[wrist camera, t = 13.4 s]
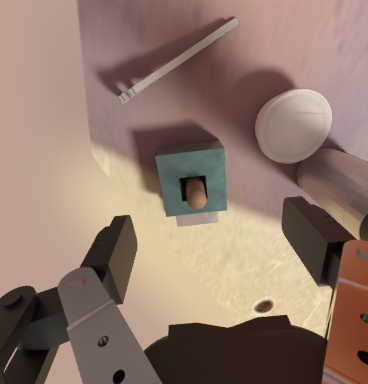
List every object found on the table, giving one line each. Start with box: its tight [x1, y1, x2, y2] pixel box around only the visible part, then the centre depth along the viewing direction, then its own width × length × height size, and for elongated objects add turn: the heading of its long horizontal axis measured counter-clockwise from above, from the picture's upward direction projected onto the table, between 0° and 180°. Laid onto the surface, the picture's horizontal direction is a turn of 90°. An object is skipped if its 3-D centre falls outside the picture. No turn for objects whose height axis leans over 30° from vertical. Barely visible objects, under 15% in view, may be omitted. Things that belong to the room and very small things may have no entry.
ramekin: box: [255, 88, 332, 163], centre depth 37 cm, size 11×11×5 cm
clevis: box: [155, 140, 227, 227], centre depth 41 cm, size 11×16×6 cm
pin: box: [186, 176, 207, 209], centre depth 39 cm, size 3×3×10 cm
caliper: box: [118, 18, 239, 104], centre depth 32 cm, size 20×1×6 cm, turn 121°
